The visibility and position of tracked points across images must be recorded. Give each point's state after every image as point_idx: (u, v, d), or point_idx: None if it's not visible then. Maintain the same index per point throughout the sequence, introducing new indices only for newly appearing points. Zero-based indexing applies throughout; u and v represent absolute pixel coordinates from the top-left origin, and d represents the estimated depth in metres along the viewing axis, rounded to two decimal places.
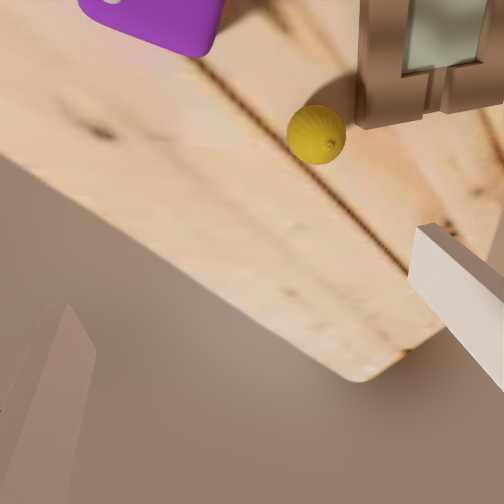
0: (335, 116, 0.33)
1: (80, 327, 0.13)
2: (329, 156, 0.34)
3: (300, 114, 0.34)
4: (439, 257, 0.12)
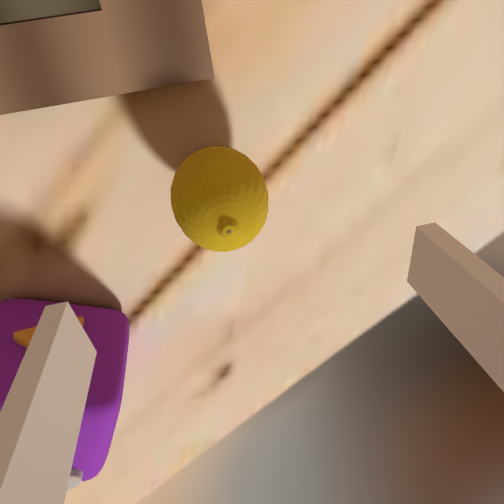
0: (181, 197, 0.18)
1: (80, 327, 0.13)
2: (250, 215, 0.18)
3: None
4: (439, 256, 0.12)
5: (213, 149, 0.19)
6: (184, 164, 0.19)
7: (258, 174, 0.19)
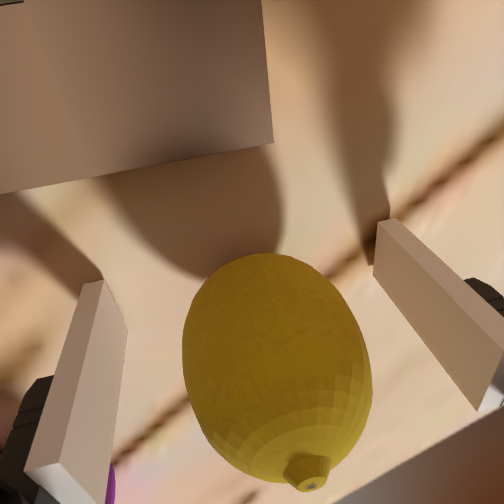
0: (205, 391, 0.09)
1: (114, 305, 0.14)
2: (351, 438, 0.08)
3: None
4: (396, 250, 0.13)
5: (266, 277, 0.10)
6: (210, 306, 0.10)
7: (355, 327, 0.10)
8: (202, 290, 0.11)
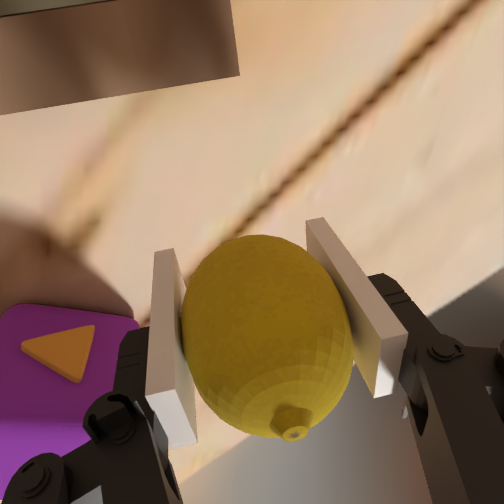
0: (201, 353, 0.10)
1: (180, 272, 0.15)
2: (331, 395, 0.09)
3: None
4: (317, 247, 0.14)
5: (258, 253, 0.11)
6: (206, 279, 0.11)
7: (338, 299, 0.11)
8: (200, 267, 0.12)
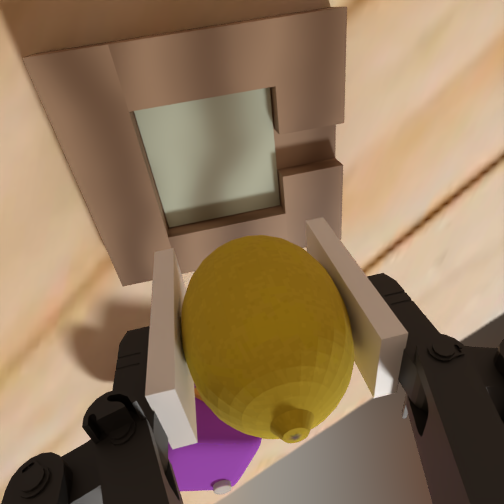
0: (201, 354, 0.10)
1: (180, 273, 0.15)
2: (332, 396, 0.09)
3: None
4: (317, 247, 0.14)
5: (258, 253, 0.11)
6: (206, 280, 0.11)
7: (339, 300, 0.11)
8: (200, 267, 0.12)
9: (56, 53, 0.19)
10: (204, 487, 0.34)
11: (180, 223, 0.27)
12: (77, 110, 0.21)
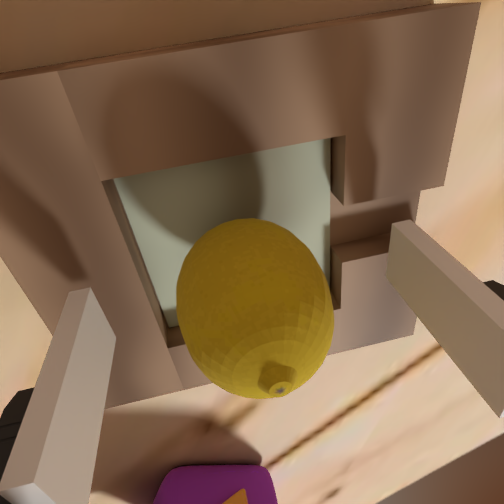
0: (195, 320, 0.11)
1: (102, 313, 0.13)
2: (313, 356, 0.10)
3: None
4: (411, 252, 0.13)
5: (246, 232, 0.12)
6: (199, 256, 0.12)
7: (320, 273, 0.12)
8: (193, 247, 0.13)
9: None
10: None
11: None
12: (9, 182, 0.12)
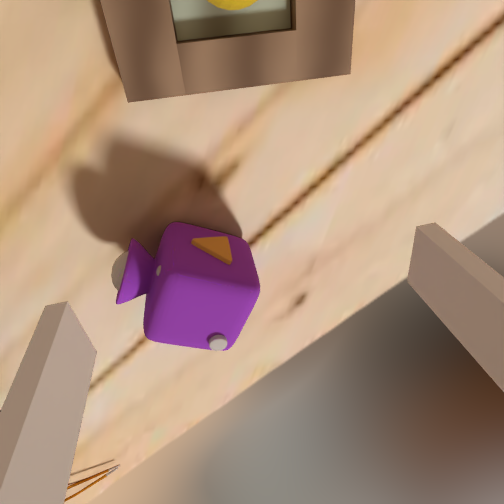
0: None
1: (80, 327, 0.13)
2: None
3: None
4: (439, 256, 0.12)
5: None
6: None
7: None
8: None
9: None
10: (200, 342, 0.34)
11: (189, 37, 0.27)
12: None
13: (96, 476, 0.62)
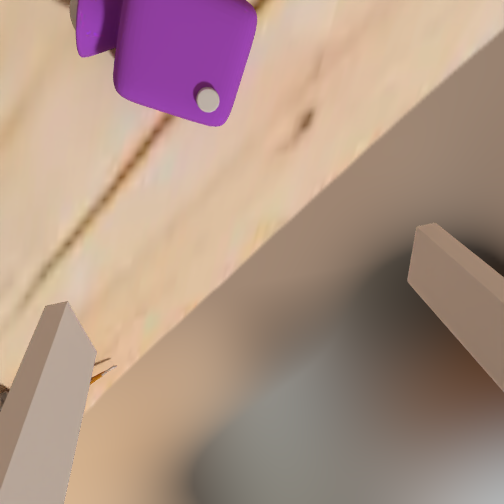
0: None
1: (80, 327, 0.13)
2: None
3: None
4: (438, 256, 0.12)
5: None
6: None
7: None
8: None
9: None
10: (185, 99, 0.27)
11: None
12: None
13: None
